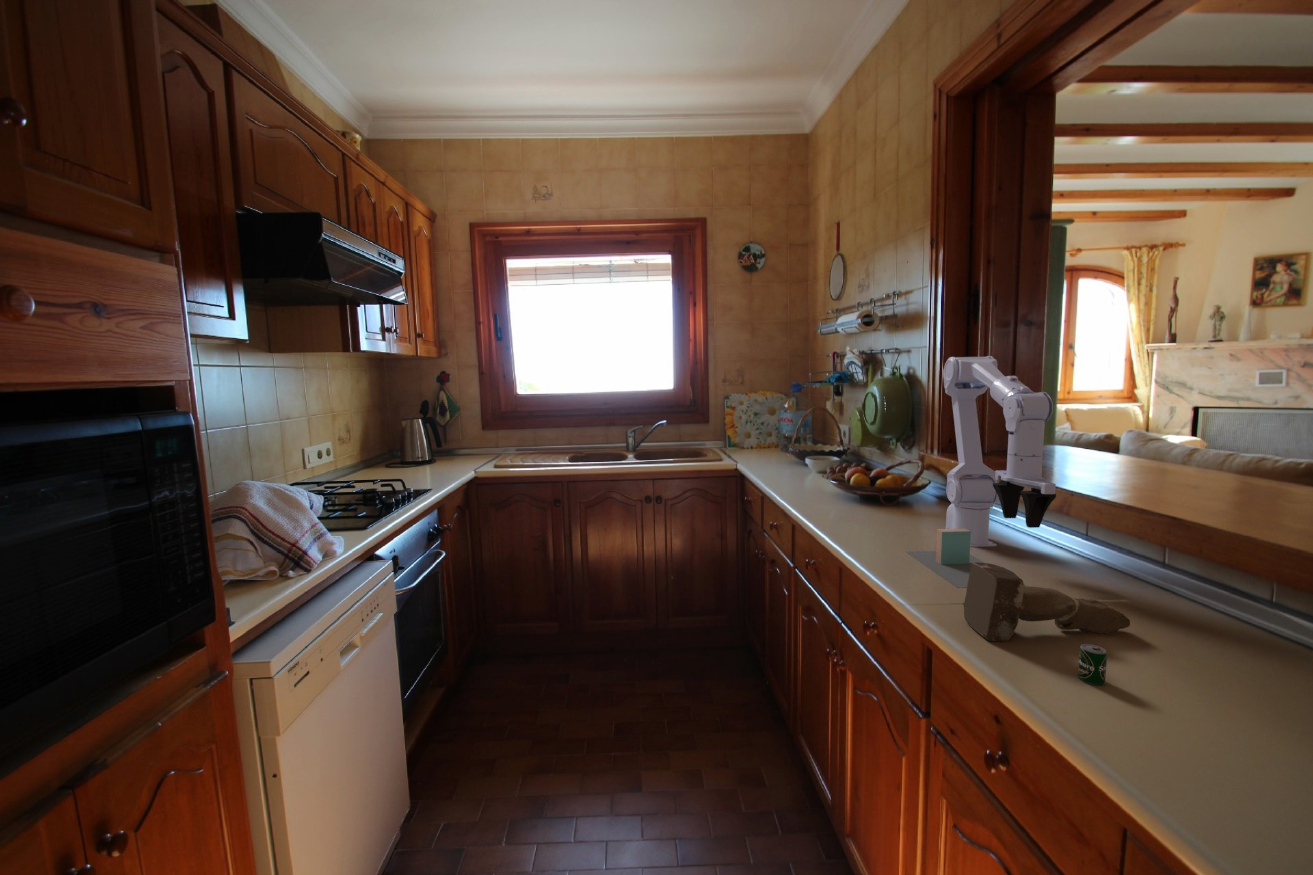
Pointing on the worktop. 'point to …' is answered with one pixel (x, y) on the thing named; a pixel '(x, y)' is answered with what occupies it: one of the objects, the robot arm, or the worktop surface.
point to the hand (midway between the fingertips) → (1021, 522)
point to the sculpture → (1029, 606)
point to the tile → (953, 546)
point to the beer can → (1092, 664)
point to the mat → (946, 567)
